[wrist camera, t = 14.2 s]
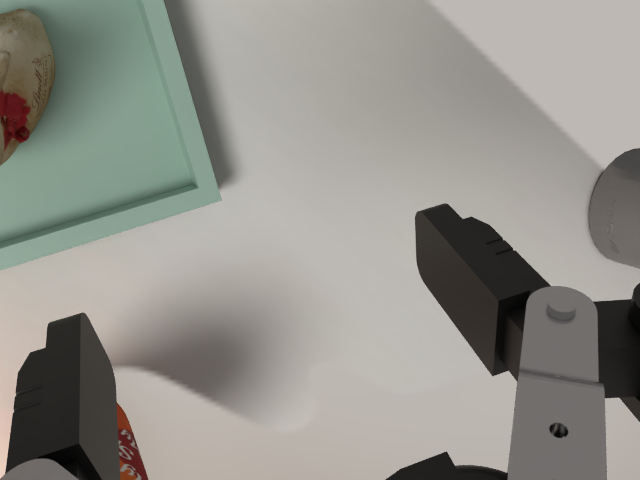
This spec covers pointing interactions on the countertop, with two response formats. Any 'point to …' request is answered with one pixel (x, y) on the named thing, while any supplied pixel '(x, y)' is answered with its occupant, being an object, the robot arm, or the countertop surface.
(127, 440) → the paper cup
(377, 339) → the countertop surface
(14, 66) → the chocolate bunny
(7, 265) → the tray
